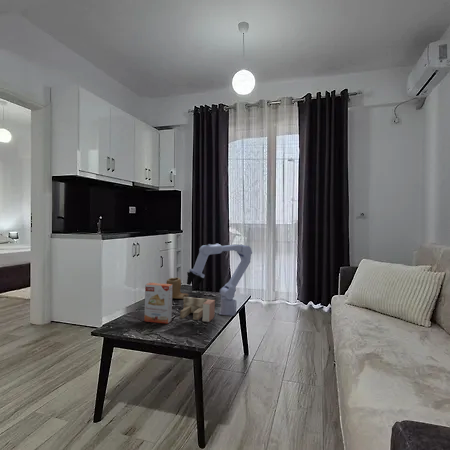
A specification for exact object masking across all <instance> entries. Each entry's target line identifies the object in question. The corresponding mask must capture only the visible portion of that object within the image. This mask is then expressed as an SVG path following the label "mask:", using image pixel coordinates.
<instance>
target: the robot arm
mask: <svg viewBox="0 0 450 450" xmlns="http://www.w3.org/2000/svg"><path fill="white" fill-rule="evenodd" d="M198 250H199V251H198V255H197V258H196V260H195V264H194V266H193V268H189V270H188V271H187V273H186V275H187V277H186V278H187V280H186V284H187V285H188V286H191V285H192V282H193V280H194V283H193V289H198V287H199V286H200V285H201V283H202V282H203V281H205V276H206V275H205V274H204V273H203V271H204V269H205V265H206V262H207V260H208V258H209V256H210V255H218V254H222V253H223V252H229V251H231V252H232V251H234V252H236V253H237V254H238V256H239V258H240V263H239V264H238V266H237V267H236V269H235V271H234V272H233V273H232V275H231V277H230V279H229V280H228V282H226V283H225V284H224V286H222V287H221V288H220V289H219V295H220V312H219V313H218V315H221V316H231V317H234V316H235V315H236V314H237V312H238V311H237V300H236V299H234V297H235V295H236V294H235V293H236V291H237V285H238V283H240V280H241V278H242V277H243V275H244V274H245V272H246V270H247V269H248V267H249V265H250V264H251V259H252V258H251V257H252V254H253V251H252V248H251V246H250V245H245V244H237V243H236V244H228V245H221V244H219V242H218V243H215V244H211V243H208V244H205V245H204V244H203V245H201V246H200V247H199V248H198Z"/></svg>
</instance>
